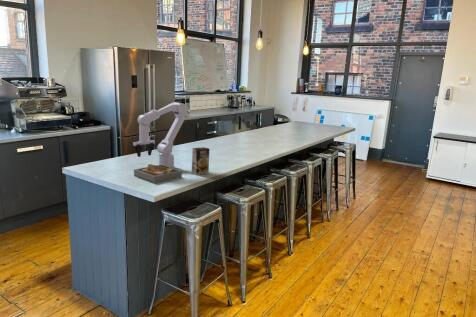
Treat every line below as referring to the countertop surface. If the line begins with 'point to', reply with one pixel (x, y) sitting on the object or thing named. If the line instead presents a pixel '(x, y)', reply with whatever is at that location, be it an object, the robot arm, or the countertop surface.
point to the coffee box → (200, 161)
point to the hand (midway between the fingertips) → (144, 155)
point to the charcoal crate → (158, 178)
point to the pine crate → (156, 170)
